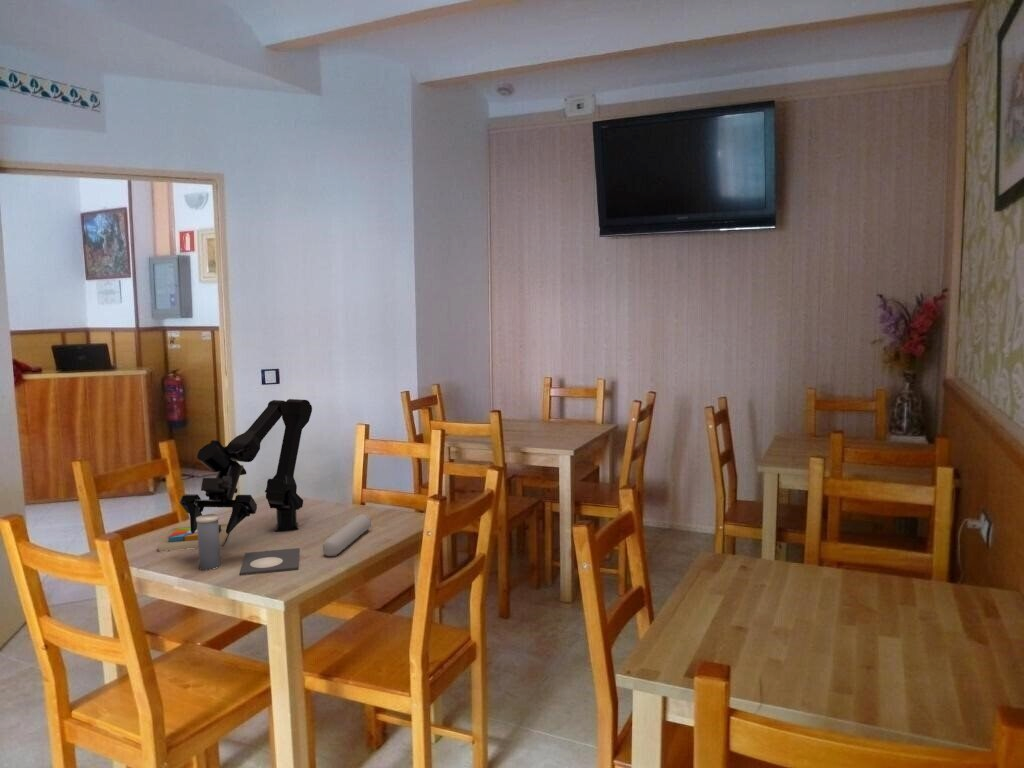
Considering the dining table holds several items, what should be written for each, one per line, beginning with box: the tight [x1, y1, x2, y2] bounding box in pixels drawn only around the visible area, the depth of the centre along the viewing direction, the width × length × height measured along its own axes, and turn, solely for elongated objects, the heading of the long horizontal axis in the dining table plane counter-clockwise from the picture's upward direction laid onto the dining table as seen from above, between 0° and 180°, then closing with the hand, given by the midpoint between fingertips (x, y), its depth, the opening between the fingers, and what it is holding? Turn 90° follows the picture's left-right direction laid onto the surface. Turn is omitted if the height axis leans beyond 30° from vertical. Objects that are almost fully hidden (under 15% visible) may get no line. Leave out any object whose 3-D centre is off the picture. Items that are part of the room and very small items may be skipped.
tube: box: [322, 513, 372, 557], centre depth 209 cm, size 5×5×25 cm
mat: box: [239, 547, 300, 576], centre depth 194 cm, size 16×14×1 cm
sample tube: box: [196, 513, 221, 570], centre depth 190 cm, size 5×5×13 cm
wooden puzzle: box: [157, 522, 230, 552], centre depth 214 cm, size 18×19×4 cm
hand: (209, 532), depth 191 cm, fingers open, 9 cm apart
